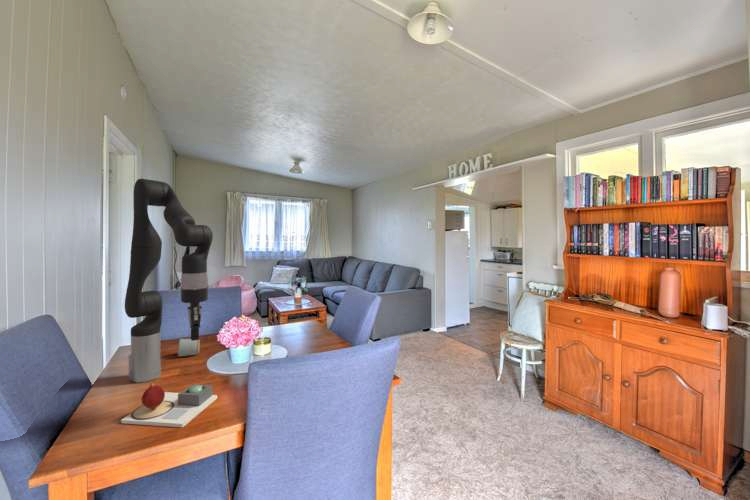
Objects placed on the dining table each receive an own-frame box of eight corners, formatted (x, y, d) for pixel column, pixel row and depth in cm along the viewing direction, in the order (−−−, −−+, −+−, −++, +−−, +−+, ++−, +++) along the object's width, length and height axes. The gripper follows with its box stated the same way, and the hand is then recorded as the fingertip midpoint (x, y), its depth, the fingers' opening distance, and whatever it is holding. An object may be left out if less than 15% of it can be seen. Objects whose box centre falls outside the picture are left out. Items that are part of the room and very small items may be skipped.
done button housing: (178, 405, 102) (177, 394, 101) (192, 394, 108) (192, 384, 108) (198, 406, 101) (198, 395, 101) (212, 395, 108) (212, 385, 108)
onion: (149, 404, 101) (149, 379, 101) (168, 403, 102) (168, 378, 102) (137, 414, 96) (137, 388, 95) (157, 413, 96) (157, 387, 96)
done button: (186, 398, 103) (186, 390, 103) (193, 393, 107) (193, 385, 107) (197, 399, 103) (197, 390, 102) (204, 393, 106) (204, 385, 106)
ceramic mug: (198, 356, 146) (198, 339, 146) (177, 359, 143) (177, 341, 143) (200, 349, 156) (200, 333, 156) (181, 351, 152) (181, 335, 152)
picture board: (119, 423, 93) (119, 419, 93) (163, 394, 110) (163, 391, 110) (182, 427, 91) (182, 423, 91) (217, 398, 108) (217, 394, 108)
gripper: (180, 284, 107) (180, 336, 108) (181, 290, 96) (182, 347, 97) (205, 283, 111) (205, 332, 112) (209, 288, 100) (210, 343, 101)
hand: (194, 339), depth 104 cm, fingers closed
